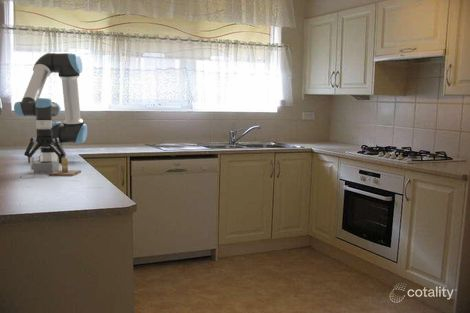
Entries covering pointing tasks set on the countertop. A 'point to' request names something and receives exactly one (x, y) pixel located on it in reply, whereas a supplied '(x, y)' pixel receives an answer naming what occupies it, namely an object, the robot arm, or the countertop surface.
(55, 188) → the countertop surface
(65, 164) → the keeper
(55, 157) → the jar
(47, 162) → the grey hollow block
